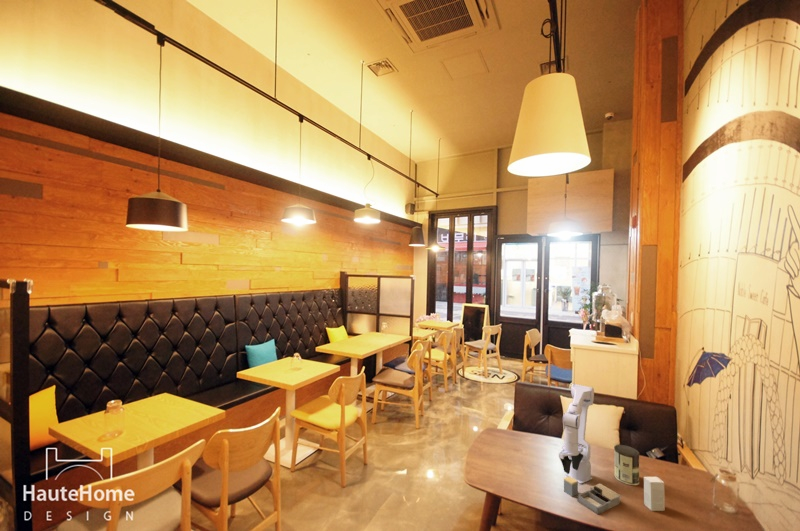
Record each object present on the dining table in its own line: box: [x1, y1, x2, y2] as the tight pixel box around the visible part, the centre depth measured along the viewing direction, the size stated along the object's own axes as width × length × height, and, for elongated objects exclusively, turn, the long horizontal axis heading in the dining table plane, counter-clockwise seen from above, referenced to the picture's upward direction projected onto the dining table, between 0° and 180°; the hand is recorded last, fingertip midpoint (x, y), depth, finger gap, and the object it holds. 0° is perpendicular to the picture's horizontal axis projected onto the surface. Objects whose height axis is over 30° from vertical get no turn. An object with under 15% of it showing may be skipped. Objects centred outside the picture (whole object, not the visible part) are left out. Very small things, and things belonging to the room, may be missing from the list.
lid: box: [589, 483, 621, 501], centre depth 147 cm, size 7×9×2 cm
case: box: [577, 488, 621, 515], centre depth 145 cm, size 16×9×3 cm, turn 117°
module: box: [563, 476, 579, 498], centre depth 151 cm, size 4×4×6 cm
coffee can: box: [613, 444, 640, 486], centre depth 163 cm, size 10×10×14 cm
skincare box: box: [643, 476, 666, 512], centre depth 142 cm, size 6×4×12 cm
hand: (571, 470), depth 151 cm, fingers open, 5 cm apart
